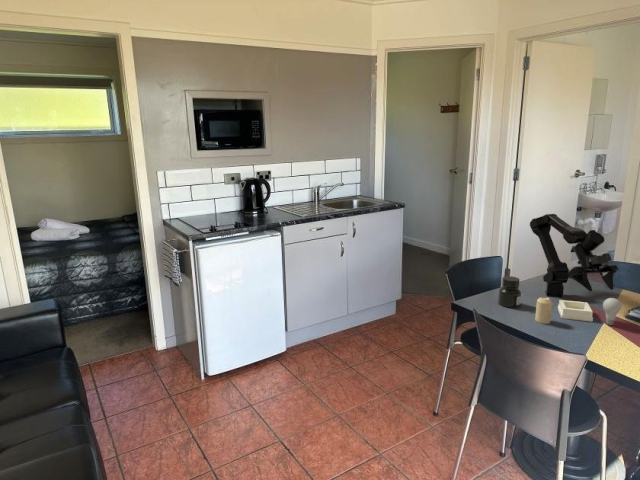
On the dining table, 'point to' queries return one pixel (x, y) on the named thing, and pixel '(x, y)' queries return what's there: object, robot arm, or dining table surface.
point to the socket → (575, 310)
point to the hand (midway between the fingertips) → (601, 290)
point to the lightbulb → (611, 309)
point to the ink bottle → (509, 292)
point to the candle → (543, 310)
